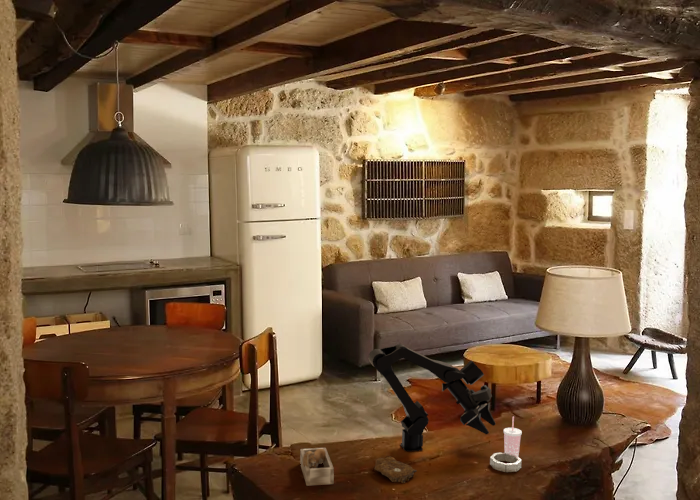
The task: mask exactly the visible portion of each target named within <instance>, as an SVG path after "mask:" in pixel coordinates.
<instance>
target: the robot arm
mask: <svg viewBox="0 0 700 500" xmlns="http://www.w3.org/2000/svg"><path fill="white" fill-rule="evenodd" d="M367 359H368V362H369V363H370V364H371V365H372V367H374V369H375V370H376V371H377V372H378V373H380V374H381V376H383V379H384V380H385V381H386V382H387V384H388V385H389V387H390V388H391V390H392V391H393V393H394V394H395V397H396V398H397V399H398V400H399V402H400V404H401V405H402V407H403V410H404V413H405V417H404V418H403V419H402V420H400V423H401V427H402V428H403V429H402V432H401V433H402V434H401V442H400V446H401V447H402V449H403V451H404V452H415V451H417V452H418V451H419V450H420V451H423V445H424V435H423V434H424V431H425V428H427V426H428V424H429V420H430V419H429V417H428V416H429V414H428V412H427V411H426V410H425V409H424V406H423V405H422V404H421V403H420V402H419V401H418V400H415V402H414V400H413V399H412V397H411V396H410V395H409V393H408V392H407V390H406V388H405V387H404V385H403V383H401V381H400V379H399V378H398V377H397V375H396V374H395V371H394V370H393V366H392V365H393V364H395V363H397V362H398V361H400V360H401V359H404V360H406V361H408V362H411V363H413V364H414V365H416V366H419V367H421V368H423V369H425V370H427V371H429V372H430V373H432V374H433V375H434V376H436V377H437V378H438V379H440V380H441V381H442V383H441V387H442V388H441V392H444V391H446V390H448V391H449V392H450V394H451V395H452V396H453V397H454V398H455V400H456V402H455V403H456V405H459V404H460V405H461V407H462V408H463V410H464V411H463V414H462V415H461V416H460V419H459V420H460V422H461V424H462V425H463V426H468V427H470V428H473V429H475V430H477V431H479V432H480V433H483V434H485V435H488V434H489V432H490V431H489V430H488V428H487V426H486V425H485V423H484V422H483V421H482V419H483V420H484V421H486V422H487V423H488V424H490V425H491V426H493V427H494V426H495V425H496V421H495V419H494V417H493V414H492V412H491V410H490V405H491V402H490V401H491V398H493V395H492V389H491V388H490V387H488V386H487V385H486V384H485V385H481V386H480V390H477V391H475V390H474V389H472V388H471V389H470V388H469V387H468V386H467V385H470V386H472V385H474V384H475V383H476V382H477V381H478V380H480V379H481V378H483V376H485V374H484V372H483V371H482V369H480V368H479V367H478V366H477V364H476V363H475V362H474V361H473V360H469V361H468V362H467V363H466V364H465V365H464V366H463V367H462V368H461V369H459V368H458V367H454V366H451V365H450V364H449V363H447V362H445V361H440V360H437V359H436V360H435V359H431V358H429V357H427V356H426V355H423V354H421V353H419V352H417V351H415V350H413V349H411V348H408V346H406V345H404V344H401V343H398V344H395V345H391V346H387V347H383V348H375V349H372V350H371V351H370V352H369V353H368V358H367Z"/></svg>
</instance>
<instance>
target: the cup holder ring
mask: <svg viewBox="0 0 700 500" xmlns="http://www.w3.org/2000/svg"><path fill="white" fill-rule="evenodd" d="M489 457H490V458H489V465H490V466H491V467H492V469H494V470H497V471H500V472H504V473H512V472H513V473H514V472H516V473H517V472H518V471H519V470H520V469H522V461H523V460H522V459H521V458H520V457H519V455H518V456H516V455H514V454H510V453H505V452H493V454H492V455H491V456H489ZM505 462H507V463H505Z"/></svg>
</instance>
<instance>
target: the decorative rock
mask: <svg viewBox="0 0 700 500" xmlns="http://www.w3.org/2000/svg"><path fill="white" fill-rule="evenodd" d="M374 470H375V471H377V472H378V473H381V475H382V476H385V477H387V478H388V479H389V480H390V481H391V482H392V483H393V482H394V483H402V484H406V481H407V482H409V481H410V478H413V477H414V474H415V473H418V471H417V469H414V468H413V467H412V466H411V465H409V464H407V463H404V462H402V461H398V460H397V459H396V458H395V457H393V456H386V457H379V458H377V459H375V465H374Z"/></svg>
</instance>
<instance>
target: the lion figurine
mask: <svg viewBox="0 0 700 500" xmlns="http://www.w3.org/2000/svg"><path fill="white" fill-rule="evenodd" d="M325 455H326V452H325V450H324V449H317V450H316V451H315V452H311V451H307V452H305V453H304V455H303V465H304V467H305V465H306V466H309V468H310V469H311V468H319V460H320V459H322V460H323V463H324V462H325Z"/></svg>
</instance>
